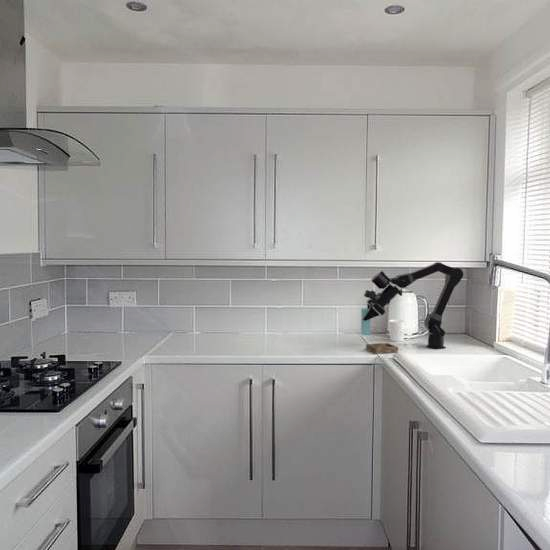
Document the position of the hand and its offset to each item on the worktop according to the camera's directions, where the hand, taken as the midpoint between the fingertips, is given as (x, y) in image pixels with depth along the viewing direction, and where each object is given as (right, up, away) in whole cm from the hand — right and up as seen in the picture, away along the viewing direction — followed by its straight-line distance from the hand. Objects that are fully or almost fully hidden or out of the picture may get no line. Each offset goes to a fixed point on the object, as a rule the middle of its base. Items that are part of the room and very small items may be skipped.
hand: (363, 319), depth 245 cm
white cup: (+20, -12, +18) cm, 30 cm away
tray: (+7, -14, -7) cm, 17 cm away
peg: (+1, -7, 0) cm, 7 cm away
